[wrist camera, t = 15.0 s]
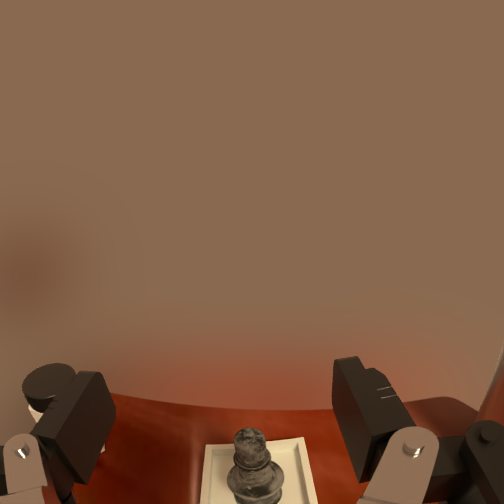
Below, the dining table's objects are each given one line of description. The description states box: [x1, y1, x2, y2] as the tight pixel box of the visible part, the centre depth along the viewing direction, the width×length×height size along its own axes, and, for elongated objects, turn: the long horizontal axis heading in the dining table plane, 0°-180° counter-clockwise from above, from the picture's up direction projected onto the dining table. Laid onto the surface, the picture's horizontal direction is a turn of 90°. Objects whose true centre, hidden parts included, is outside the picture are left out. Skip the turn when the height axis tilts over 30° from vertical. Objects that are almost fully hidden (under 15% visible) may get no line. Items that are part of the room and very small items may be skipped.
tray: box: [200, 437, 318, 504], centre depth 27 cm, size 12×14×2 cm
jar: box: [22, 363, 105, 453], centre depth 32 cm, size 9×8×12 cm
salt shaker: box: [227, 427, 284, 504], centre depth 25 cm, size 6×6×12 cm
